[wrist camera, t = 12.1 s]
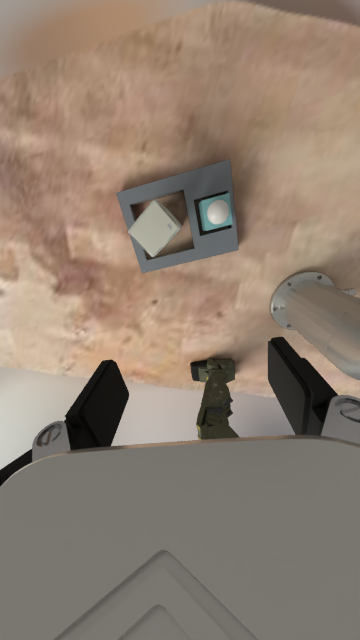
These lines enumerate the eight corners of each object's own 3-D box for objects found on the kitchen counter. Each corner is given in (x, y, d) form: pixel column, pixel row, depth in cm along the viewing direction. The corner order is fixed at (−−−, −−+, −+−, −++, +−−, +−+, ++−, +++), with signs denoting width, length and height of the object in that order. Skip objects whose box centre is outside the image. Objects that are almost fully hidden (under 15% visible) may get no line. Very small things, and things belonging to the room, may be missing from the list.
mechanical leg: (178, 384, 49) (233, 561, 23) (175, 362, 46) (233, 538, 20) (227, 371, 51) (329, 519, 25) (227, 350, 48) (344, 492, 22)
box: (165, 206, 32) (155, 194, 21) (183, 226, 34) (183, 226, 22) (145, 229, 34) (125, 231, 23) (162, 248, 35) (152, 258, 24)
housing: (227, 163, 30) (229, 159, 28) (235, 248, 35) (238, 249, 33) (119, 194, 32) (116, 192, 30) (144, 271, 37) (142, 273, 36)
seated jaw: (221, 198, 32) (230, 191, 26) (224, 224, 34) (234, 224, 27) (198, 205, 32) (201, 199, 26) (202, 230, 34) (206, 231, 28)
